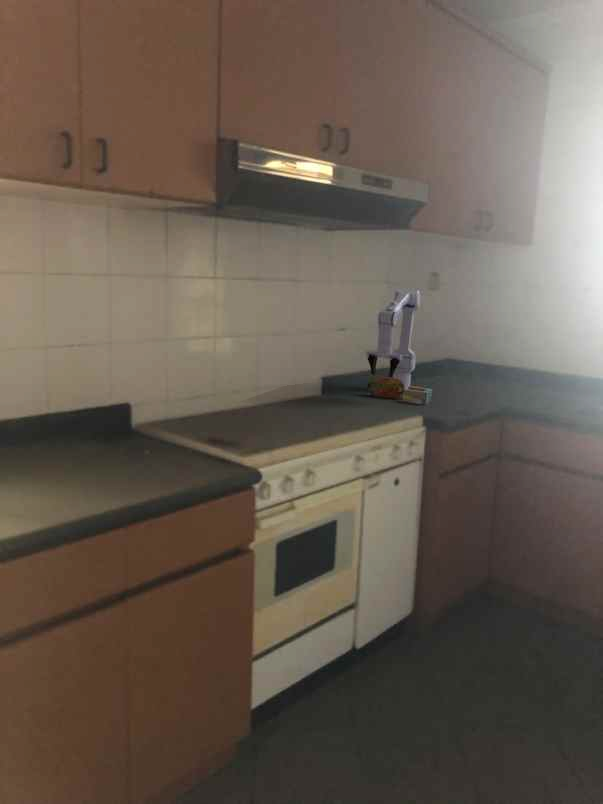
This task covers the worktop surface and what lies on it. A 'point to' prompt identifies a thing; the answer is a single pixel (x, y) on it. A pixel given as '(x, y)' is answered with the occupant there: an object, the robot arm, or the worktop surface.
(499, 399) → the worktop surface
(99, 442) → the worktop surface
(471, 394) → the worktop surface
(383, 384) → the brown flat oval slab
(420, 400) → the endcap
